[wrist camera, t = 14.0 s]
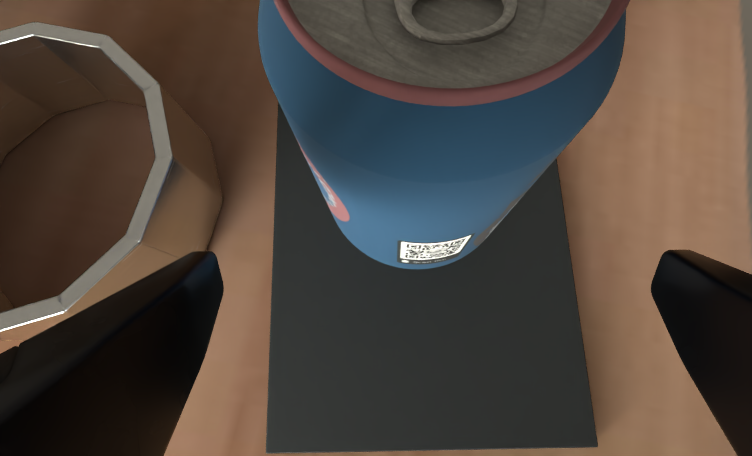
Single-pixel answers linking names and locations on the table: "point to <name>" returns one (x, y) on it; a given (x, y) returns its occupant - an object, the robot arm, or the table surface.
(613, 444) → the table surface
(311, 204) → the rubber mat
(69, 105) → the steel holder
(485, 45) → the soda can
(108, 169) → the table surface
